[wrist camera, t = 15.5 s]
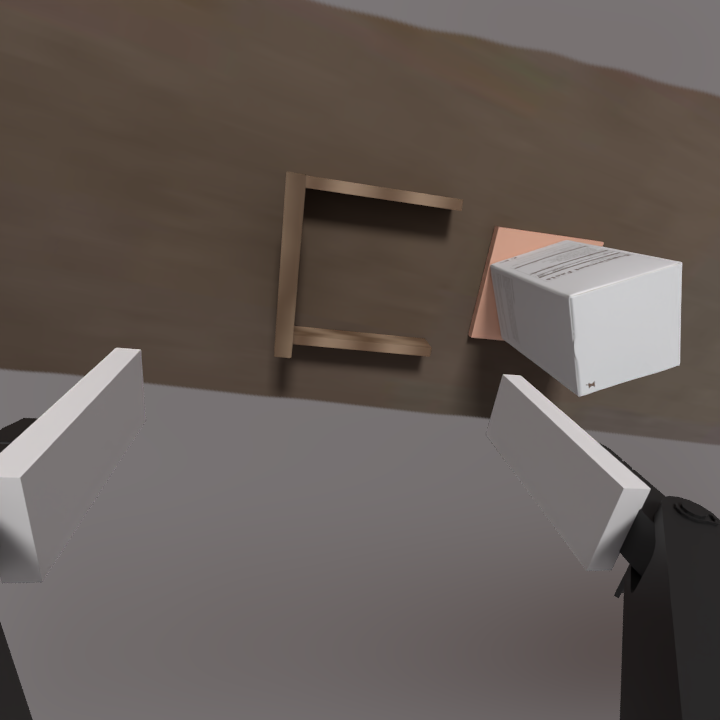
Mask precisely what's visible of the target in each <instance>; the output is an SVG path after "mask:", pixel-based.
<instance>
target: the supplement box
mask: <svg viewBox="0 0 720 720" xmlns="http://www.w3.org/2000/svg"><path fill="white" fill-rule="evenodd" d="M490 270H491V277H492V283H493V289H494V295H495V301H496V307H497V313H498V319H499V325H500V331H501V337H502V339H503V340H505V341H506V342H507V343H509V344H510V345H511V346H513V347H514V348H515V349H517V350H518V351H519V352H521V353H522V354H523V355H525V356H526V357H527V358H529V359H530V360H531V361H533V362H534V363H535V364H537V365H538V366H539V367H540V368H542V369H543V370H544V371H546V372H547V373H548V374H550V375H551V376H552V377H554V378H555V379H556V380H558V381H559V382H560V383H562V384H563V385H564V386H566V387H567V388H568V389H569V390H571V391H572V392H573V393H575V394H576V395H577V396H579V397H580V396H583V395H586V394H589V393H592V392H595V391H598V390H601V389H604V388H608V387H611V386H614V385H617V384H620V383H623V382H627V381H630V380H633V379H636V378H640V377H643V376H647V375H650V374H654V373H657V372H660V371H664V370H666V369H669V368H672V367H675V366H678V365H680V329H681V283H682V262H678V261H673V260H668V259H663V258H658V257H652V256H647V255H642V254H637V253H631V252H626V251H621V250H616V249H611V248H606V247H601V246H596V245H590V244H585V243H580V242H575V241H570V240H564V241H561V242H558V243H555V244H552V245H549V246H546V247H543V248H539V249H536V250H533V251H530V252H527V253H524V254H521V255H518V256H515V257H512V258H509V259H506V260H502V261H499V262H496V263H493V264H491V265H490Z"/></svg>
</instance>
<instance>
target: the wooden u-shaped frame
mask: <svg viewBox="0 0 720 720" xmlns="http://www.w3.org/2000/svg"><path fill="white" fill-rule="evenodd" d="M305 188H311V189H317V190H324V191H331V192H337V193H344V194H351V195H358V196H364V197H371V198H378V199H385V200H391V201H398V202H405V203H411V204H418V205H425V206H432V207H438V208H445V209H452V210H459V211H461V209H462V205H463V200H462V199H456V198H449V197H442V196H436V195H429V194H423V193H416V192H410V191H403V190H397V189H390V188H384V187H377V186H371V185H364V184H358V183H351V182H345V181H338V180H331V179H325V178H318V177H312V176H307V175H306V174H299V173H293V172H286V186H285V200H284V215H283V230H282V245H281V260H280V275H279V290H278V305H277V320H276V335H275V349H274V357H285V358H291V356H292V344H297V345H308V346H319V347H330V348H341V349H352V350H363V351H374V352H385V353H396V354H407V355H418V356H429V357H430V354H431V349H432V348H431V346H430V345H429V344H428V342H427V341H426V340H425V339H423V338H413V337H403V336H392V335H382V334H372V333H362V332H351V331H341V330H331V329H321V328H310V327H300V326H294V320H295V308H296V296H297V284H298V272H299V260H300V248H301V236H302V224H303V212H304V200H305Z"/></svg>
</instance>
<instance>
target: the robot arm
mask: <svg viewBox="0 0 720 720" xmlns="http://www.w3.org/2000/svg"><path fill="white" fill-rule="evenodd" d="M145 421H146V415H145V401H144V387H143V372H142V358H141V350H140V349H125V348H115V349H114V350H113V351H112V352H111V353H110V354H109V355H108V356H107V357H105V358H104V359H103V360H102V361H101V362H100V363H99V364H98V365H97V366H96V367H94V368H93V369H92V370H91V371H90V372H89V373H88V374H87V375H86V376H85V377H83V378H82V379H81V380H80V381H79V382H78V383H77V384H76V385H75V386H74V387H72V388H71V389H70V390H69V391H68V392H67V393H66V394H65V395H64V396H63V397H61V398H60V399H59V400H58V401H57V402H56V403H55V404H54V405H53V406H51V407H50V408H49V409H48V410H47V411H46V412H45V413H44V414H43V415H42V416H41V417H39V418H38V419H35V418H23V419H21V420H19V421H17V422H15V423H13V424H11V425H9V426H7V427H4V428H2V429H1V430H0V577H1V581H2V583H34V582H43V581H44V579H45V577H46V576H47V574H48V573H49V571H50V570H51V568H52V567H53V565H54V564H55V562H56V560H57V558H58V557H59V556H60V554H61V552H62V551H63V549H64V548H65V546H66V545H67V543H68V542H69V540H70V538H71V537H72V535H73V534H74V532H75V530H76V529H77V528H78V526H79V524H80V523H81V521H82V520H83V518H84V517H85V515H86V514H87V512H88V510H89V509H90V507H91V506H92V504H93V503H94V501H95V499H96V498H97V496H98V495H99V493H100V492H101V490H102V488H103V487H104V485H105V484H106V482H107V481H108V479H109V478H110V476H111V475H112V473H113V471H114V469H115V468H116V467H117V465H118V464H119V462H120V460H121V459H122V457H123V456H124V454H125V453H126V451H127V450H128V448H129V446H130V445H131V443H132V442H133V440H134V439H135V437H136V435H137V434H138V432H139V431H140V429H141V428H142V426H143V425H144V423H145ZM486 436H487V437H488V438H489V440H490V441H491V442H492V444H493V445H494V447H495V448H496V449H497V450H498V452H499V453H500V455H501V456H502V457H503V459H504V460H505V461H506V462H507V464H508V465H509V467H510V468H511V469H512V471H513V472H514V474H515V475H516V476H517V477H518V479H519V480H520V482H521V483H522V484H523V486H524V487H525V488H526V490H527V491H528V492H529V494H530V495H531V497H532V498H533V499H534V501H535V502H536V503H537V505H538V506H539V507H540V509H541V510H542V511H543V513H544V514H545V515H546V517H547V518H548V519H549V521H550V522H551V523H552V525H553V526H554V528H555V529H556V530H557V532H558V533H559V534H560V536H561V537H562V538H563V540H564V541H565V543H566V544H567V545H568V547H569V548H570V549H571V550H572V552H573V553H574V554H575V556H576V557H577V559H578V560H579V561H580V563H581V564H582V565H583V567H584V568H585V570H586V571H599V570H612V568H613V566H614V564H615V562H616V560H617V558H618V556H619V553H621V554H622V555H623V557H624V558H625V559H626V560H627V561H628V562H629V563H630V564H629V566H628V568H627V571H626V573H625V574H624V576H623V578H622V580H621V582H620V584H619V586H618V588H617V590H616V592H615V595H614V596H616V597H618V598H619V596H620V595H621V593H624V606H623V608H624V609H623V637H622V669H621V670H622V671H621V701H620V702H621V703H620V720H720V520H719V519H718V518H717V517H716V516H715V515H714V514H713V513H711V512H710V511H708V510H707V509H705V508H704V507H702V506H700V505H698V504H696V503H694V502H692V501H690V500H687V499H683V498H680V497H673V496H667V497H665V496H664V495H663V494H662V493H661V492H660V491H658V490H657V489H656V488H655V487H653V485H651V484H650V483H649V482H648V481H647V480H645V479H644V478H643V477H642V476H641V475H640V474H639V473H637V472H636V471H635V470H632V468H631V467H630V466H629V465H628V464H627V463H626V462H625V461H622V459H621V458H620V457H619V456H618V455H616V454H615V453H614V452H613V451H612V450H611V449H609V448H607V447H606V446H604V445H602V444H600V443H599V442H597V441H595V440H594V439H593V438H592V437H591V436H590V435H589V434H587V433H586V432H585V431H584V430H583V429H582V428H581V427H579V426H578V425H577V424H576V423H575V422H574V421H573V420H571V419H570V418H569V417H568V416H567V415H566V414H564V413H563V412H562V411H561V410H560V409H559V408H558V407H556V406H555V405H554V404H553V403H552V402H551V401H550V400H548V399H547V398H546V397H545V396H544V395H543V394H542V393H540V392H539V391H538V390H537V389H536V388H535V387H534V386H532V385H531V384H530V383H529V382H528V381H527V380H525V379H524V378H523V377H522V376H521V375H507V374H503V375H502V379H501V382H500V386H499V389H498V393H497V396H496V400H495V403H494V407H493V410H492V414H491V418H490V421H489V425H488V428H487V432H486ZM0 720H32V717H31V714H30V710H29V707H28V705H27V701H26V699H25V695H24V693H23V689H22V686H21V683H20V680H19V677H18V674H17V671H16V668H15V665H14V662H13V659H12V656H11V653H10V650H9V647H8V644H7V641H6V638H5V635H4V632H3V629H2V626H1V623H0Z"/></svg>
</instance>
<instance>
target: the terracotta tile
mask: <svg viewBox="0 0 720 720" xmlns="http://www.w3.org/2000/svg"><path fill="white" fill-rule="evenodd" d="M564 240H570V241H575V242H580V243H585V244H590V245H596V246H601V247H602V246H603V243H604V242H600V241H594V240H587V239H580V238H573V237H566V236H559V235H552V234H545V233H539V232H532V231H525V230H518V229H511V228H504V227H497V226H495V228H494V232H493V236H492V240H491V244H490V248H489V252H488V256H487V260H486V264H485V268H484V272H483V276H482V280H481V284H480V288H479V293H478V297H477V301H476V305H475V309H474V313H473V317H472V321H471V325H470V329H469V333H468V335H469V336H470V337H472V338H482V339H492V340H502V341H505V340H503V339H502V337H501V331H500V325H499V319H498V313H497V307H496V301H495V295H494V289H493V283H492V277H491V270H490V265H491V264H493V263H496V262H499V261H502V260H506V259H509V258H512V257H515V256H518V255H521V254H524V253H527V252H530V251H533V250H536V249H539V248H543V247H546V246H549V245H552V244H555V243H558V242H561V241H564Z"/></svg>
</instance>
